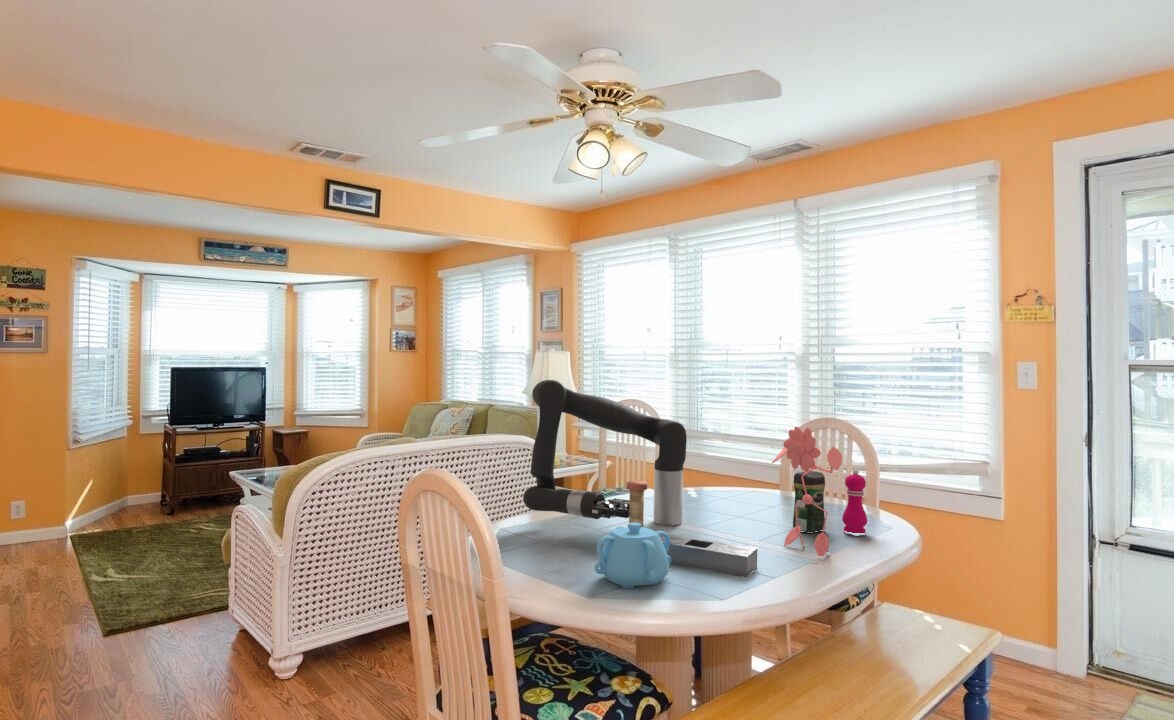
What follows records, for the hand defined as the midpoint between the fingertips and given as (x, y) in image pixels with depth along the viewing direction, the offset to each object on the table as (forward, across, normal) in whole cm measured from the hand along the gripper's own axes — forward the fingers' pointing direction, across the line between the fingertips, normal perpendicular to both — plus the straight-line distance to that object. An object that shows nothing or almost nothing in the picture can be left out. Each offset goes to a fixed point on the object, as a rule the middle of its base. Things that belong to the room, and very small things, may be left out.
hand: (635, 511), depth 184 cm
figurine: (+40, +20, +10) cm, 46 cm away
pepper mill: (+50, +52, +10) cm, 73 cm away
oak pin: (0, 0, +10) cm, 10 cm away
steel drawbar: (+20, -4, +10) cm, 23 cm away
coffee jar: (+37, +48, +10) cm, 62 cm away
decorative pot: (+12, -26, +10) cm, 31 cm away
